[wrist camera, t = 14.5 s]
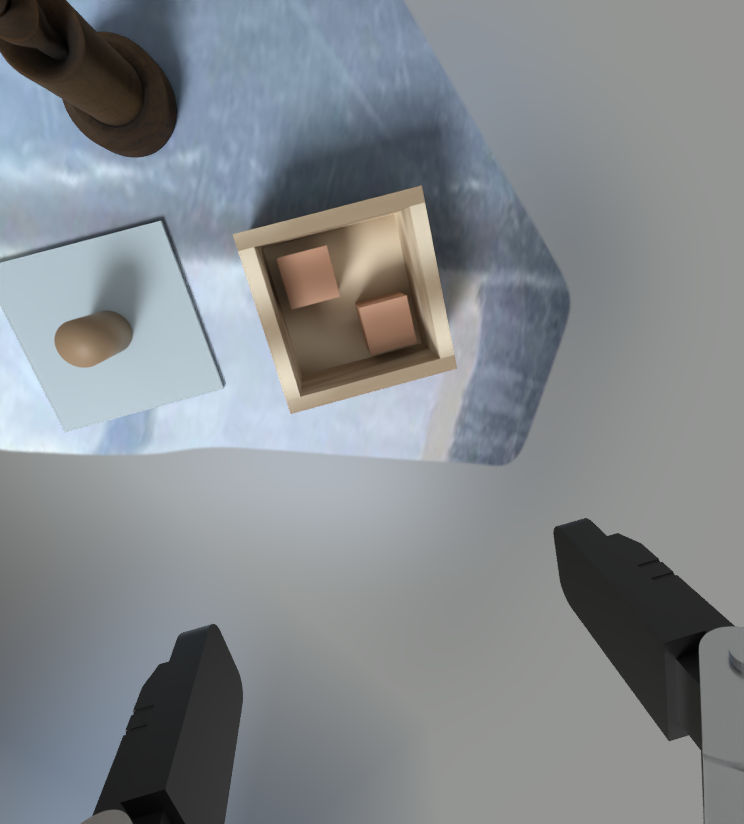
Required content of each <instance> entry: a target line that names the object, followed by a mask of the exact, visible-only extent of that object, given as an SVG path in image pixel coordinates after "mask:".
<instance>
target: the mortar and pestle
mask: <svg viewBox="0 0 744 824" xmlns="http://www.w3.org/2000/svg"><path fill="white" fill-rule="evenodd" d="M0 52H1V54H2V55H3V57H4V58H5V59H6V61H7V62H8V63H9V64H10V65H11V66H12V67H13V68H14V69H15V70H16V71H18V72H19V73H20V74H22V75H24V76H25V77H27V78H28V79H30V80H32V81H34V82H35V83H37V84H39V85H40V86H42V87H44V88H46V89H47V90H49V91H50V92H52V93H54V94H55V95H57V96H59V97H60V98H62V100H63V103H64V105H65V108H66V110H67V112H68V114H69V116H70V117H71V119H72V121H73V122H74V123H75V125H76V126H77V127H78V128H79V129H80V131H81V132H82V133H83V134H84V135H86V136H87V137H88V138H89V139H90V140H92V141H93V142H95V143H96V144H98V145H100V146H102V147H104V148H106V149H107V150H109V151H111V152H114V153H116V154H119V155H122V156H126V157H144V156H148V155H151V154H153V153H155V152H157V151H158V150H160V149H161V148H162V147H163V146H164V145H165V144H166V143H167V141H168V140H169V138H170V137H171V135H172V132H173V130H174V127H175V122H176V115H177V109H176V100H175V96H174V93H173V90H172V87H171V85H170V83H169V81H168V79H167V77H166V75H165V74H164V72H163V71H162V70H161V68H160V67H159V66H158V65H157V63H156V62H155V61H154V60H153V59H152V58H151V57H150V56H149V55H148V54H147V53H146V52H145V51H144V50H143V49H142V48H141V47H140V46H139V45H137V44H136V43H134V42H133V41H131V40H130V39H128V38H126V37H123V36H121V35H118V34H115V33H110V32H96V31H95V30H94V29H93V28H92V27H91V26H90V25H89V24H88V23H87V22H86V21H85V20H84V19H83V17H82V16H81V15H80V14H79V13H78V12H77V11H76V10H75V9H74V8H73V7H72V6H71V5H70V4H69V3H68V2H67V1H66V0H0Z"/></svg>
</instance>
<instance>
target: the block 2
mask: <svg viewBox="0 0 744 824" xmlns="http://www.w3.org/2000/svg"><path fill="white" fill-rule="evenodd" d="M355 305H356V309H357V313H358V317H359V321H360V325H361V329H362V333H363V337H364V341H365V345H366V347H367V349H368V351H369V353H370V354H371V355H373V354H377V353H381V352H384V351H388V350H392V349H396V348H399V347H403V346H407V345H410V344H414V343H417V340H416V336H415V331H414V327H413V322H412V317H411V313H410V308H409V304H408V299H407V295H405V294H403V293H400V292H395V293H391V294H387V295H384V296H380V297H376V298H372V299H369V300H365V301H361V302H357V303H355Z"/></svg>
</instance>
